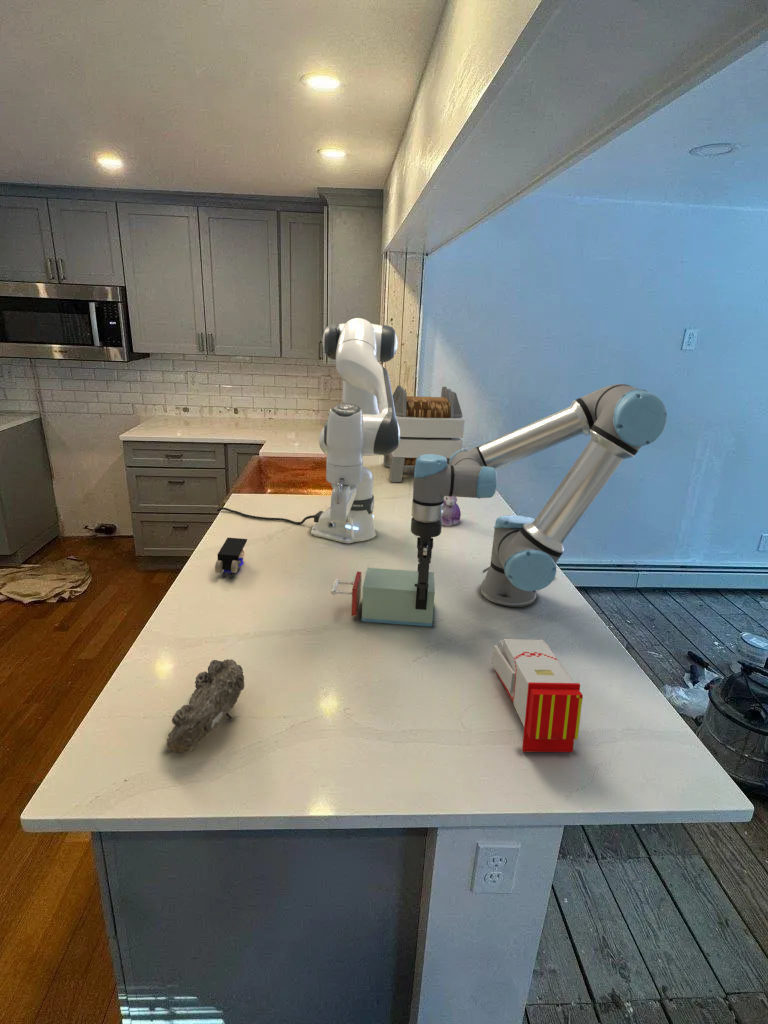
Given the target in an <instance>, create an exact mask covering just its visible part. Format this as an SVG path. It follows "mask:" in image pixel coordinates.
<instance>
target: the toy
mask: <svg viewBox="0 0 768 1024" xmlns="http://www.w3.org/2000/svg"><path fill="white" fill-rule="evenodd" d="M491 665H492V667H493V668H494V671H495V673H496V674H497V677H498V678H499V680H500V682H501V684H502V686H503V687H504V689H505V691H506V693H507V695H508V696H509V699H510V700H511V702H512V703H513V706H514V708H515V711H516V713H517V715H518V717H519V719H520V722H521V723H522V726H523V737H522V747H521V751H522V752H523V753H524V752H525V753H527V752H528V753H532V752H533V753H534V752H535V753H573V752H574V744H575V740H578V739H579V732H580V724H581V723H580V722H581V714H582V705H583V696H584V694H583V693H582V692H581V684H580V683H579V682H574V681H573V679H572V677H570V675H569V674H568V673H567V671H566V670H565V668H564V667H563V665H562V664H561V662H560V661H559V659H557V657H556V656H555V654H554V652H553V651H552V649H551V648H550V646H549V645H548V644H547V643H546V641H545V640H544V639H522V638H521V639H517V638H503V640H499V642H498V646H497V644H494V645H493V649H492V656H491Z"/></svg>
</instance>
